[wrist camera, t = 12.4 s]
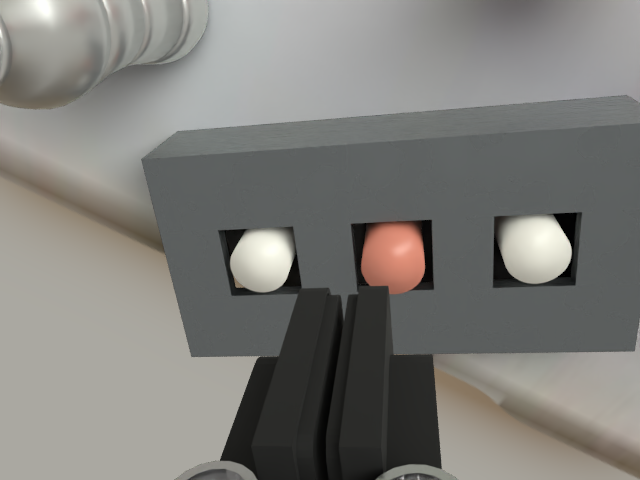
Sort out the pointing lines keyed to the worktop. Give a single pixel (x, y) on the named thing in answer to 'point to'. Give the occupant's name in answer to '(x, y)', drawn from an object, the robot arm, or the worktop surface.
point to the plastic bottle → (87, 44)
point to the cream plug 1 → (263, 258)
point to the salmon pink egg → (393, 255)
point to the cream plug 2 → (532, 246)
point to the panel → (408, 205)
